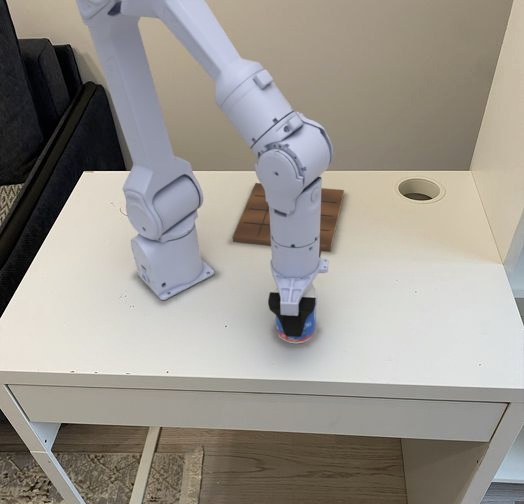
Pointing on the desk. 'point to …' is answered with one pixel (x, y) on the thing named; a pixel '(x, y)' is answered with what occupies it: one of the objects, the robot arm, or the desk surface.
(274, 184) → the robot arm
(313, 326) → the pill bottle
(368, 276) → the desk surface
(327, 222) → the board
